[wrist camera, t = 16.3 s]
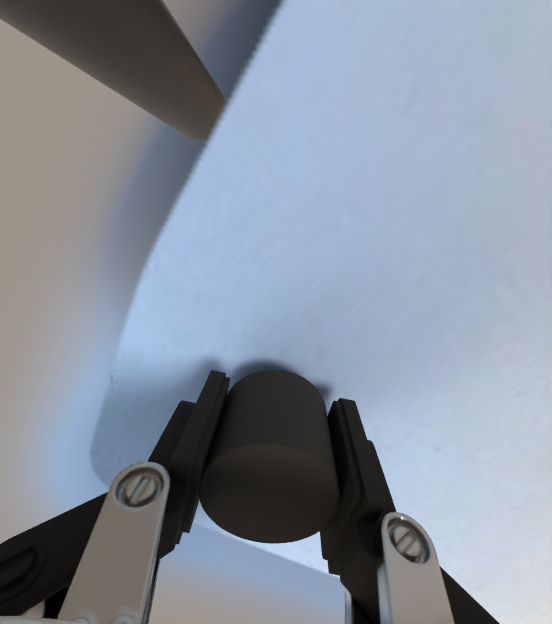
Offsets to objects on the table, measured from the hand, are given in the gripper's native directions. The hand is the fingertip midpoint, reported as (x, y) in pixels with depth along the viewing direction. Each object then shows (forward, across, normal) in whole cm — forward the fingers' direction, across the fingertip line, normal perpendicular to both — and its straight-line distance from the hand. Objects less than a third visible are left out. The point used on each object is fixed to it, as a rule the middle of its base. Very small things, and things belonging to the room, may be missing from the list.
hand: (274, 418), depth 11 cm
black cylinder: (0, 0, 0) cm, 0 cm away
